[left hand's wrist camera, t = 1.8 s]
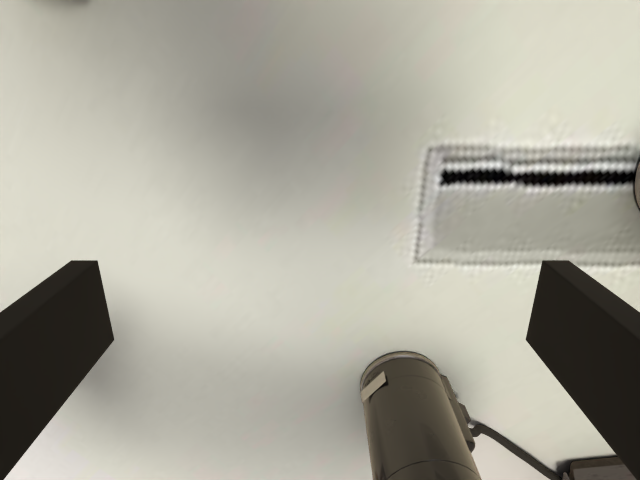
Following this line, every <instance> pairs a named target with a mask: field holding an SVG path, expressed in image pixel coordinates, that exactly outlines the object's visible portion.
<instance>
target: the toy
mask: <svg viewBox="0 0 640 480" xmlns="http://www.w3.org/2000/svg"><path fill="white" fill-rule="evenodd" d="M563 480H636V478H635V477H634V476H633V475H632V473H631V472H630V471H629V470H628V468H627V467H626V466H625V464H624V463H623V462H622V461H621V459H620V458H619V457H611V458H601V459H591V460H582V461H573V462H572V463H571V465H570V473H569V477H568V475H567V473H566V472H564V473H563Z"/></svg>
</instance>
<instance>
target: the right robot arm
mask: <svg viewBox="0 0 640 480" xmlns="http://www.w3.org/2000/svg"><path fill="white" fill-rule="evenodd" d="M360 390H361V398H362V402H363V406H364V415H365V423H366V430H367V438H368V445H369V453H370V460H371V468H372V475H373V480H482V479H481V477H480V474H479V472H478V469H477V467H476V464H475V462H474V459H473V457H472V455H471V453H472V451H473V450H474V448H475V442H474V439H473V437H477V436H479V435H480V433H482V434H485V435H487V436H489V437H491V438H493V439H494V440H496V441H497V442H499V443H500V444H501V445H503V446H504V447H505V448H507V449H508V450H509V451H511V452H512V453H514V454H515V455H516V456H518V457H519V458H521V459H522V460H524V461H525V462H527V463H528V464H530V465H531V466H532V467H534V468H535V469H536V470H538V471H539V472H540V473H542V474H543V475H545V476H546V477H547V478H549V479H551V480H563V478H562V477H560V476H558V475H556V474H555V473H553V472H551V471H550V470H548V469H547V468H546V467H544V466H543V465H542V464H540V463H539V462H538V461H536V460H535V459H534V458H532V457H531V456H529V455H528V454H527V453H525V452H524V451H522V450H521V449H519V448H518V447H516V446H515V445H514V444H512V443H511V442H510V441H508V440H507V439H506V438H504V437H503V436H501V435H500V434H499V433H497V432H495V431H494V430H492V429H490V428H488V427H486V426H483V425H476V426H475V427H474V428H473V429H472V428H468V425H467V424H468V423H469V422H470V421H471V419H470V417H469V414H468V412H467V410H466V408H465V406H464V405H463V404H461V403H459V402H457V399H456V397H455V395H454V392H453V390H452V388H451V385H450V383H449V381H448V378H447V377H444V376H442V375H440V372H439V370H438V368H437V367H436V366H435V364H434V363H433V362H431V361H430V360H429V359H427V358H426V357H424V356H422V355H419V354H416V353H410V352H397V353H392V354H388V355H385V356H383V357H381V358H379V359H377V360H376V361H374V362H373V363H372V364H371V365H370V366H369V367H368V368H367V369H366V371H365V372H364V374H363V376H362V379H361V384H360Z"/></svg>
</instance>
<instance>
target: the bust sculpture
mask: <svg viewBox="0 0 640 480" xmlns="http://www.w3.org/2000/svg"><path fill="white" fill-rule="evenodd" d="M635 194H636V199H637V203H638V205H639V207H640V163H639V165H638V169H637V173H636V178H635Z"/></svg>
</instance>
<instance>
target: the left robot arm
mask: <svg viewBox="0 0 640 480" xmlns="http://www.w3.org/2000/svg"><path fill="white" fill-rule="evenodd" d="M113 341H114V336H113V332H112V327H111V322H110V318H109V313H108V308H107V303H106V299H105V294H104V289H103V285H102V280H101V275H100V270H99V266H98V261H70V262H69V263H67V264H66V265H65V266H63V267H62V268H61V269H59V270H58V271H57V272H55V273H54V274H52V275H51V276H50V277H48V278H47V279H46V280H44V281H43V282H41V283H40V284H39V285H37V286H36V287H35V288H33V289H32V290H30V291H29V292H28V293H26V294H25V295H24V296H22V297H21V298H19V299H18V300H17V301H15V302H14V303H13V304H11V305H10V306H9V307H7V308H6V309H4V310H3V311H2V312H0V480H4V478H5V477H6V476H7V475H8V473H9V472H10V471H11V470H12V468H13V467H14V466H15V464H16V463H17V462H18V461H19V459H20V458H21V457H22V456H23V454H24V453H25V452H26V451H27V449H28V448H29V447H30V446H31V444H32V443H33V442H34V440H35V439H36V438H37V437H38V435H39V434H40V433H41V432H42V430H43V429H44V428H45V427H46V425H47V424H48V423H49V421H50V420H51V419H52V418H53V416H54V415H55V414H56V413H57V411H58V410H59V409H60V408H61V406H62V405H63V404H64V403H65V401H66V400H67V399H68V397H69V396H70V395H71V394H72V392H73V391H74V390H75V389H76V387H77V386H78V385H79V384H80V382H81V381H82V380H83V378H84V377H85V376H86V375H87V373H88V372H89V371H90V370H91V368H92V367H93V366H94V365H95V363H96V362H97V361H98V360H99V358H100V357H101V356H102V354H103V353H104V352H105V351H106V349H107V348H108V347H109V346H110V344H111V343H112V342H113ZM526 341H527V342H528V343H529V344H530V346H531V347H532V348H533V349H534V351H535V352H536V353H537V354H538V356H539V357H540V358H541V360H542V361H543V362H544V363H545V365H546V366H547V367H548V368H549V370H550V371H551V372H552V373H553V375H554V376H555V377H556V378H557V380H558V381H559V382H560V384H561V385H562V386H563V387H564V389H565V390H566V391H567V392H568V394H569V395H570V396H571V397H572V399H573V400H574V401H575V403H576V404H577V405H578V406H579V408H580V409H581V410H582V411H583V413H584V414H585V415H586V416H587V418H588V419H589V420H590V421H591V423H592V424H593V425H594V427H595V428H596V429H597V430H598V432H599V433H600V434H601V435H602V437H603V438H604V439H605V440H606V442H607V443H608V444H609V446H610V447H611V448H612V449H613V451H614V452H615V453H616V454H617V456H618V457H619V458H620V459H621V461H622V462H623V463H624V464H625V466H626V467H627V468H628V470H629V471H630V472H631V473H632V475H633V476H634V477H635V478H636V480H640V312H638V311H637V310H636V309H634V308H633V307H631V306H630V305H629V304H627V303H626V302H625V301H623V300H622V299H621V298H619V297H618V296H616V295H615V294H614V293H612V292H611V291H610V290H608V289H607V288H605V287H604V286H603V285H601V284H600V283H599V282H597V281H596V280H594V279H593V278H592V277H590V276H589V275H588V274H586V273H585V272H583V271H582V270H581V269H579V268H578V267H577V266H575V265H574V264H573V263H571V262H570V261H542V266H541V270H540V275H539V280H538V285H537V289H536V294H535V299H534V303H533V308H532V313H531V318H530V322H529V327H528V332H527V336H526Z"/></svg>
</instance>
